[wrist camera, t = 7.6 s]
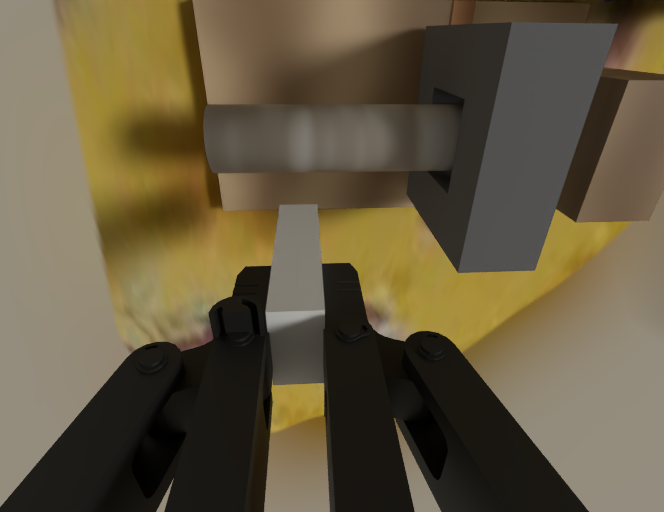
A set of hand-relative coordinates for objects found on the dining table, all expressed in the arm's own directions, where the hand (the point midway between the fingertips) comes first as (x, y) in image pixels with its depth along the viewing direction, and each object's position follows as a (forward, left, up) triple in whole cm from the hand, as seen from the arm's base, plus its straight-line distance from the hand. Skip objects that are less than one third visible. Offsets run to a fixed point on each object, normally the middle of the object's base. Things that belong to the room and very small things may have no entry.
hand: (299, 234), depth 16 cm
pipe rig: (-3, +5, -7) cm, 9 cm away
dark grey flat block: (-3, +7, -6) cm, 10 cm away
